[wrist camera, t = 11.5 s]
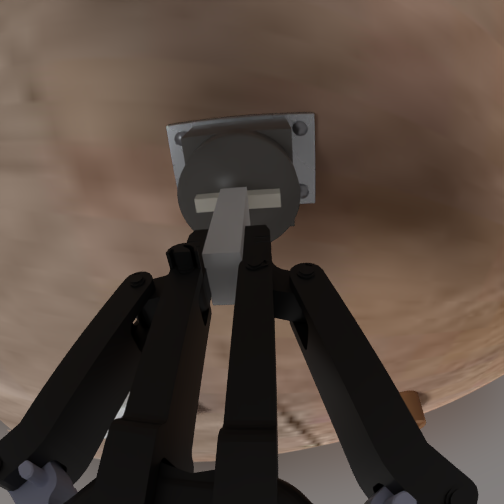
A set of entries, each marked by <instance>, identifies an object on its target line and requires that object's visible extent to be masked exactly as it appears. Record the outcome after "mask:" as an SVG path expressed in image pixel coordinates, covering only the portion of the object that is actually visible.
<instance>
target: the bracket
mask: <svg viewBox="0 0 504 504" xmlns="http://www.w3.org/2000/svg"><path fill="white" fill-rule="evenodd" d="M400 395H401V397H402V398H403V400H404V402H405V404H406V405H407V407H408V409H409V411H410V412H411V414H412V416H413V418H414V420H415V421H416V423H417V425H418V427H419V429H421V428H422V427H423V426H424V425H425V424H426V420H425V417H424V413H423V410H422V406H421V403H420V400H419V397H418V393H417V392H416V391H404V392H400Z"/></svg>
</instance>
